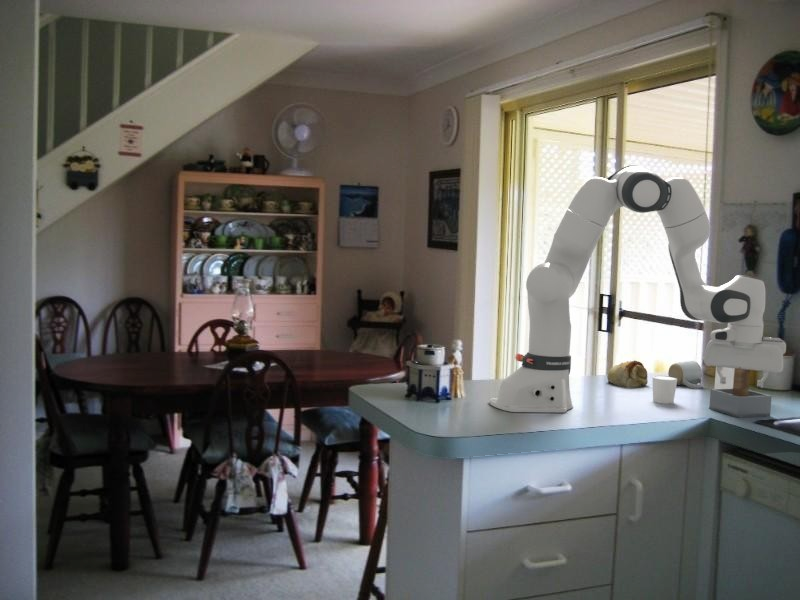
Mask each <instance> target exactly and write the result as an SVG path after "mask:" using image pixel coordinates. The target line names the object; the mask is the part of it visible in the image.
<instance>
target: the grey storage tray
mask: <svg viewBox="0 0 800 600" xmlns="http://www.w3.org/2000/svg"><path fill="white" fill-rule="evenodd" d="M709 393H710V394H709V395H710V396H709V397H710V398H709V408H708V409H709V410H713V411H715V410H716V411H715V412H719V413H722V412H723V414H725V413H726V414H725V415H728V414H729V415H728V416H731V417H734V416H735V417H734V418H750V417H751V418H752V417H753V418H754V417H771V408H772V399H773V398H772V395H770V394H767V393H761V392H758V391H755V390H751V389H749V390H748V396H736V395H733V388H729V389H714V388H711V389H710V392H709Z"/></svg>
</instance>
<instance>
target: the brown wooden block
mask: <svg viewBox="0 0 800 600" xmlns="http://www.w3.org/2000/svg"><path fill="white" fill-rule="evenodd" d="M750 374H751V370H746V369H741V367H739V369H736V368H735V370H734V383H733V395H736V396H748V390H750V389H749V387H750V386H749V385H750V377H751V376H750Z"/></svg>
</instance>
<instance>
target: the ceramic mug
mask: <svg viewBox="0 0 800 600" xmlns="http://www.w3.org/2000/svg"><path fill="white" fill-rule="evenodd" d="M667 374H668V375H667V376H669V377H674V378H677V384H676V386H686V387H687V388H691V389H695V388H698V389H700V388H701V387H702V385H703V380H702V379H703V371H702V367H701V365H700V363H698V362H697V361H696V360H688V361H681V362H680V361H679V362H676V363H673V364H671V365H670V366H669V369H668V373H667Z"/></svg>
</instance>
